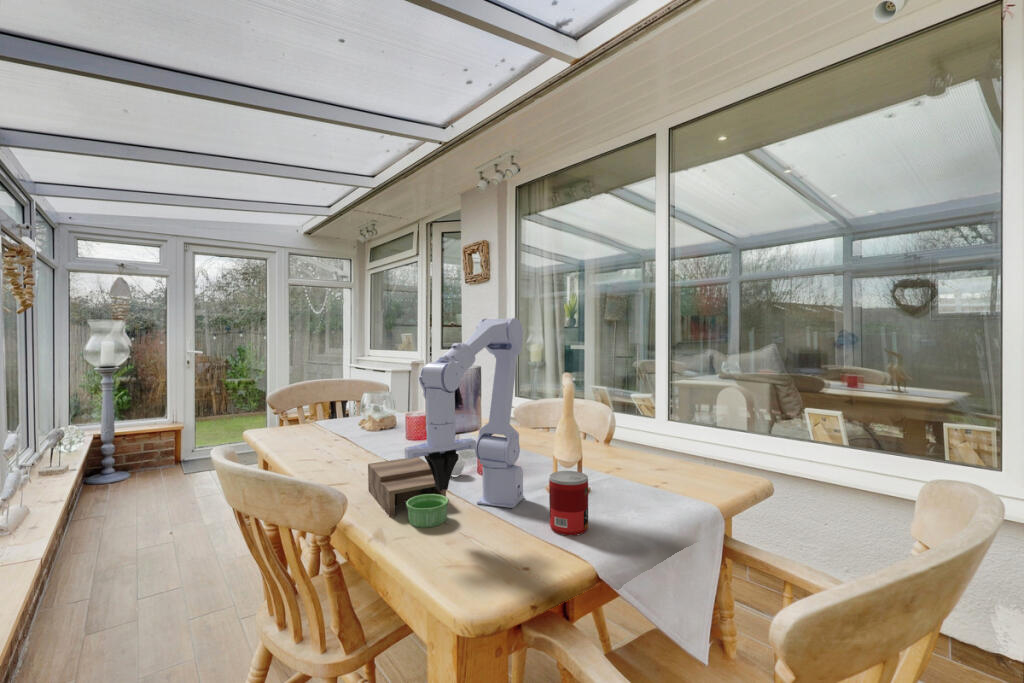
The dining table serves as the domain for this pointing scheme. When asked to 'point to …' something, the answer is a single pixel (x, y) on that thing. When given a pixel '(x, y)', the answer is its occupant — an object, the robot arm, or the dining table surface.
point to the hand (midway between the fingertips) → (441, 489)
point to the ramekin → (427, 510)
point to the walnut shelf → (400, 482)
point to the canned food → (568, 502)
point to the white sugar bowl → (458, 466)
